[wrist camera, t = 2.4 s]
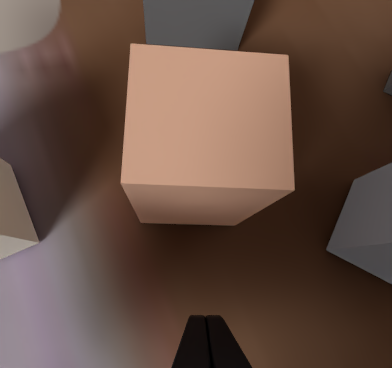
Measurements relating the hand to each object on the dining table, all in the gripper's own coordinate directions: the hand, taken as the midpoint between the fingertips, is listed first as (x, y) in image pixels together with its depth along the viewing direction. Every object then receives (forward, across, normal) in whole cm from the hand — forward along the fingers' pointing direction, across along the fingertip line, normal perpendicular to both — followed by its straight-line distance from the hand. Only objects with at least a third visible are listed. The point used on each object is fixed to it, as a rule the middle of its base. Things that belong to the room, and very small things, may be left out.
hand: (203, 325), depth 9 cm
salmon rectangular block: (+9, 0, +1) cm, 9 cm away
